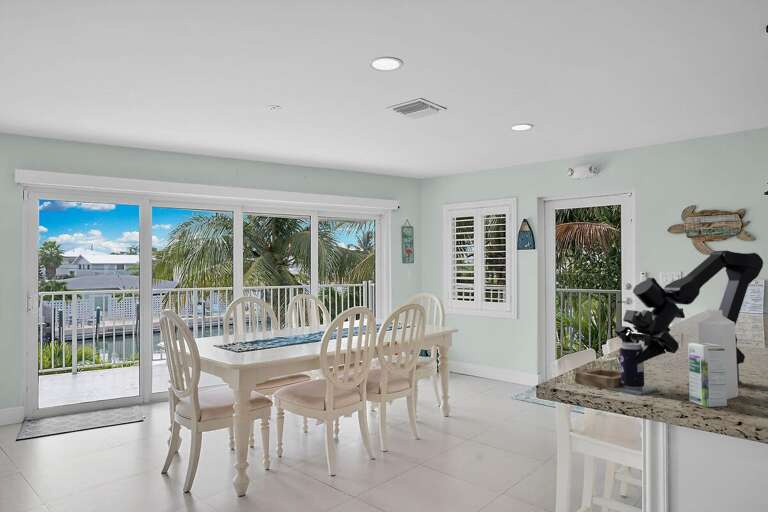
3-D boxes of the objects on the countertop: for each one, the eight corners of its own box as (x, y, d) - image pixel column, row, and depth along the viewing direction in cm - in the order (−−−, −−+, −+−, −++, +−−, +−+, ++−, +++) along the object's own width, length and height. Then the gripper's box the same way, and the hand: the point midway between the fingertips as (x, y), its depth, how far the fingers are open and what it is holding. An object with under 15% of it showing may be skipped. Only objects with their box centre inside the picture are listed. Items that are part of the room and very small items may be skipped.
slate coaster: (657, 390, 136) (657, 388, 136) (639, 395, 131) (639, 393, 131) (625, 385, 144) (625, 383, 144) (607, 389, 139) (607, 387, 139)
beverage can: (635, 385, 141) (633, 342, 141) (649, 389, 135) (647, 344, 136) (617, 386, 140) (615, 342, 140) (630, 390, 134) (628, 345, 135)
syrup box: (688, 401, 124) (686, 342, 125) (711, 400, 125) (708, 342, 125) (705, 407, 119) (702, 345, 119) (728, 406, 119) (725, 345, 120)
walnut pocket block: (637, 384, 144) (637, 373, 145) (613, 390, 138) (613, 379, 138) (599, 377, 154) (599, 368, 154) (575, 382, 148) (575, 372, 148)
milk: (738, 396, 128) (735, 310, 129) (725, 400, 125) (722, 311, 126) (713, 392, 134) (710, 309, 135) (700, 395, 131) (697, 310, 132)
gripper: (618, 298, 148) (586, 337, 145) (667, 301, 130) (632, 346, 127) (642, 323, 150) (611, 363, 147) (694, 330, 132) (660, 375, 129)
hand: (627, 361), depth 137 cm, fingers open, 6 cm apart
